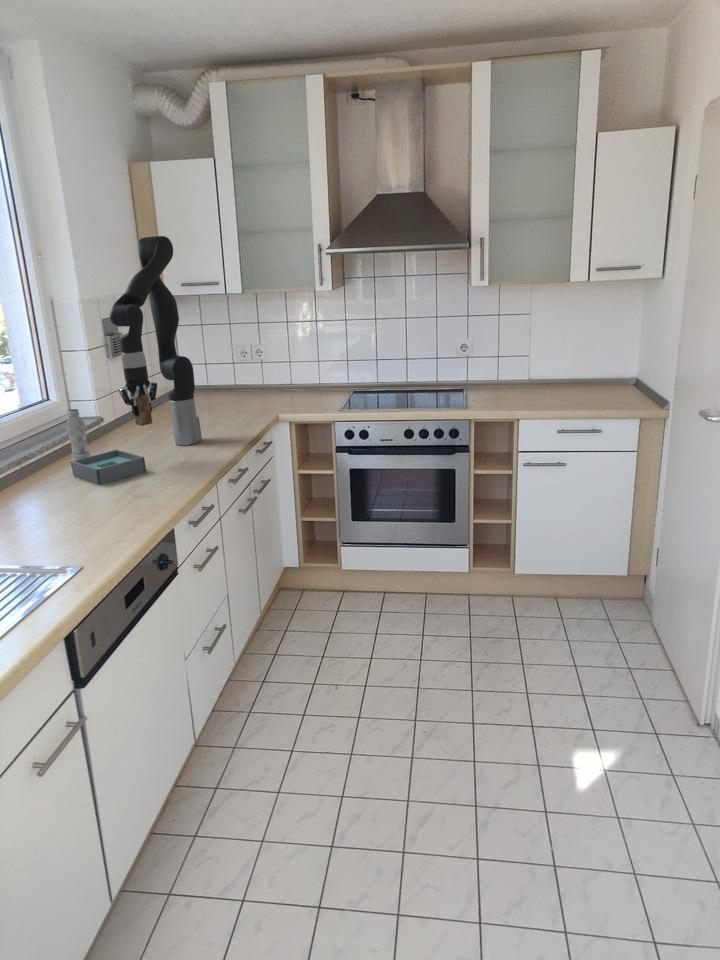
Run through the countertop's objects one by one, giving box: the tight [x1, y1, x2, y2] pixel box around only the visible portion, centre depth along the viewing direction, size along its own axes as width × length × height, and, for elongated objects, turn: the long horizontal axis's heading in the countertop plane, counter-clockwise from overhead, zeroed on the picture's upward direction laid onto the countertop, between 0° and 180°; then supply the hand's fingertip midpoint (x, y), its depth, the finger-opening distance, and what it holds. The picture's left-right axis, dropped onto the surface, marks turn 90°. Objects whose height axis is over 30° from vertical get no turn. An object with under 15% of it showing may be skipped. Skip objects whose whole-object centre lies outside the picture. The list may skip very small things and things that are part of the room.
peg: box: [134, 394, 153, 427], centre depth 243 cm, size 4×4×10 cm
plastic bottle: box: [65, 408, 92, 461], centre depth 247 cm, size 6×7×20 cm
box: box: [70, 449, 147, 486], centre depth 237 cm, size 17×18×5 cm
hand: (142, 414), depth 244 cm, fingers closed on peg, 4 cm apart
